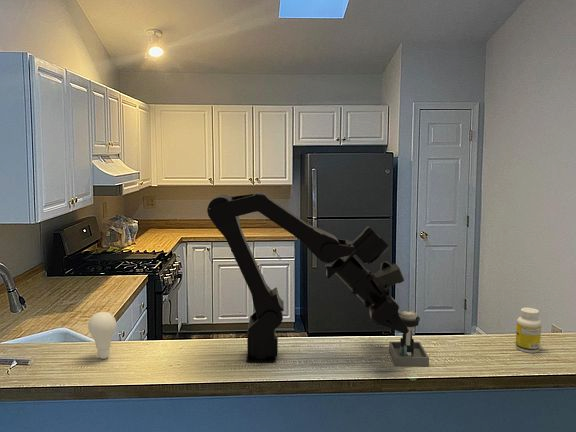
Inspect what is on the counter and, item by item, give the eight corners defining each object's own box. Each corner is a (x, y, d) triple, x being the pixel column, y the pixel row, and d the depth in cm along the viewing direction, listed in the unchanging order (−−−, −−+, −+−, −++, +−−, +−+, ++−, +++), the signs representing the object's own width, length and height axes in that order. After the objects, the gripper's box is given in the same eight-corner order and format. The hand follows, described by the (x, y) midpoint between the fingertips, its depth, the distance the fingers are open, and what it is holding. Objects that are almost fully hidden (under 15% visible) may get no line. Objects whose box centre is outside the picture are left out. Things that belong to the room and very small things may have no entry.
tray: (395, 365, 121) (396, 357, 121) (389, 349, 130) (389, 341, 130) (428, 366, 121) (429, 357, 121) (419, 349, 130) (419, 342, 130)
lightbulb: (123, 356, 125) (121, 310, 124) (104, 366, 120) (102, 318, 118) (103, 351, 128) (101, 306, 126) (83, 361, 123) (81, 314, 121)
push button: (421, 362, 122) (422, 319, 120) (397, 361, 122) (398, 318, 121) (416, 350, 128) (418, 309, 127) (393, 349, 129) (395, 309, 127)
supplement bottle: (518, 343, 135) (521, 305, 133) (541, 348, 132) (544, 309, 130) (512, 349, 130) (515, 310, 129) (537, 355, 127) (540, 315, 126)
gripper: (390, 263, 113) (440, 315, 114) (377, 245, 131) (420, 290, 133) (350, 299, 114) (401, 350, 115) (343, 276, 133) (386, 320, 134)
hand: (403, 325), depth 124 cm, fingers open, 9 cm apart
